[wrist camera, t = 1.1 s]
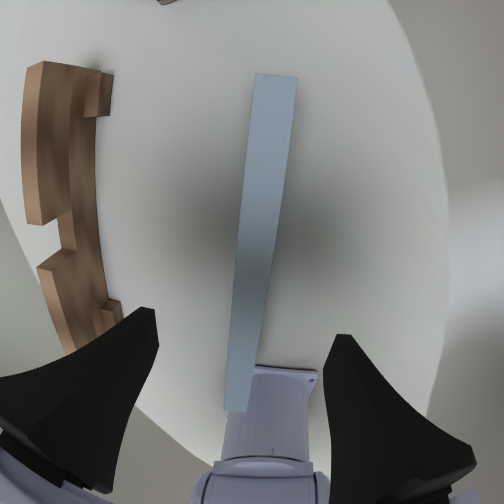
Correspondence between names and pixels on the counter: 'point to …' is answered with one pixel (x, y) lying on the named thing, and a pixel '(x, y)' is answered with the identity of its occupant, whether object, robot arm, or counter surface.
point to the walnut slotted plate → (67, 194)
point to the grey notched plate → (257, 227)
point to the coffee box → (164, 1)
